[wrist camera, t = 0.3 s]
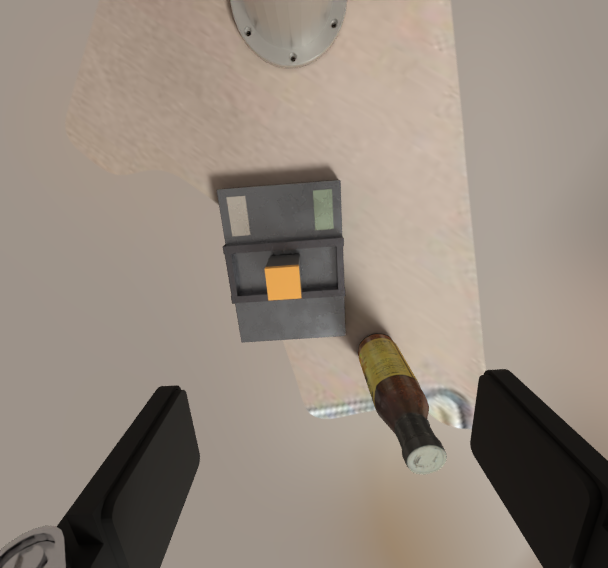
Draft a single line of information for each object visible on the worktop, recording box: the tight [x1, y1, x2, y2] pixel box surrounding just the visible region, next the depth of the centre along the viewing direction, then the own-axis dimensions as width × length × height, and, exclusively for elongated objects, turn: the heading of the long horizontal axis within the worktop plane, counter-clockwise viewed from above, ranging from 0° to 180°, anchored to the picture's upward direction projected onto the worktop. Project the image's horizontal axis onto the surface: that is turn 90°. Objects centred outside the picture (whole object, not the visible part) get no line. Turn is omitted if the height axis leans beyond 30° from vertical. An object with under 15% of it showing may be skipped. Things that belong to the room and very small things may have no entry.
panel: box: [217, 180, 345, 342], centre depth 42 cm, size 22×16×4 cm
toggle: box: [265, 254, 302, 301], centre depth 39 cm, size 4×4×6 cm
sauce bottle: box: [358, 334, 447, 474], centre depth 39 cm, size 7×6×20 cm
